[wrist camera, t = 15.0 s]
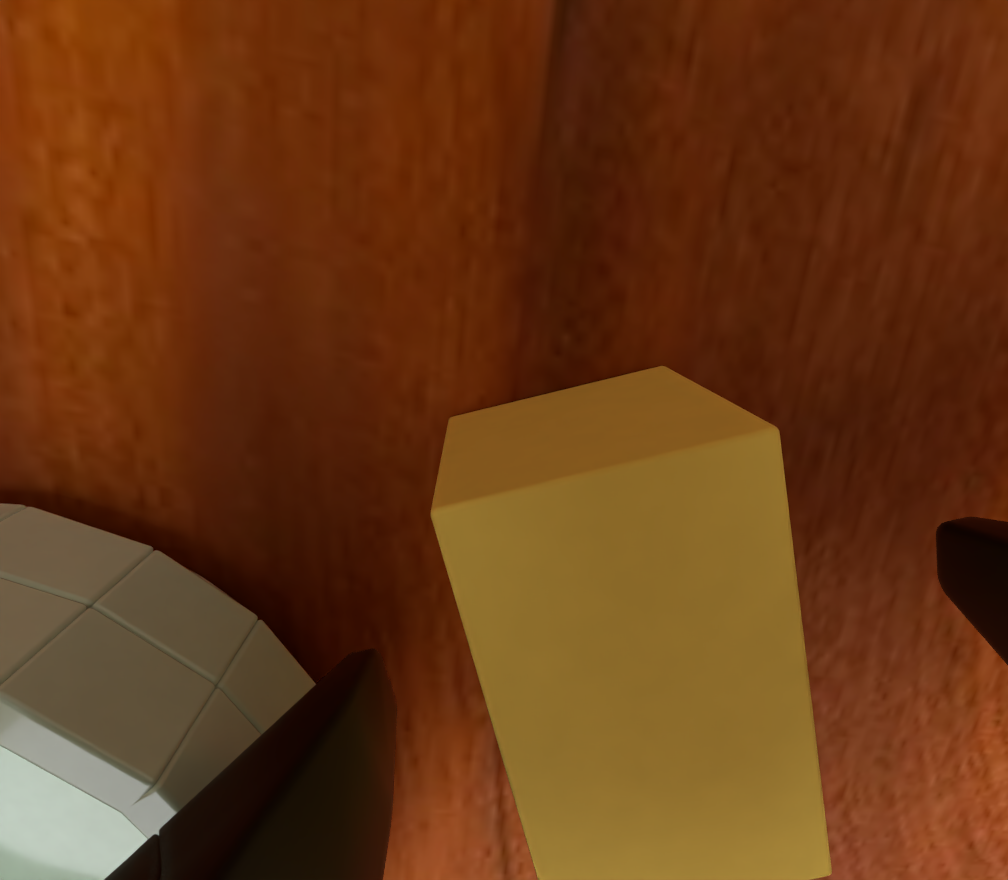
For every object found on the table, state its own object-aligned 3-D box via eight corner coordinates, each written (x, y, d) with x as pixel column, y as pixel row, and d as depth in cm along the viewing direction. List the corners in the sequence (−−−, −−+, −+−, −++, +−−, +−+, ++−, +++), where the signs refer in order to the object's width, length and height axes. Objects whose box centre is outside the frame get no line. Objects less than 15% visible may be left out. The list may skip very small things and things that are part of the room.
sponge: (716, 674, 12) (835, 876, 8) (529, 716, 12) (554, 938, 8) (665, 364, 10) (782, 425, 6) (447, 417, 10) (427, 512, 6)
